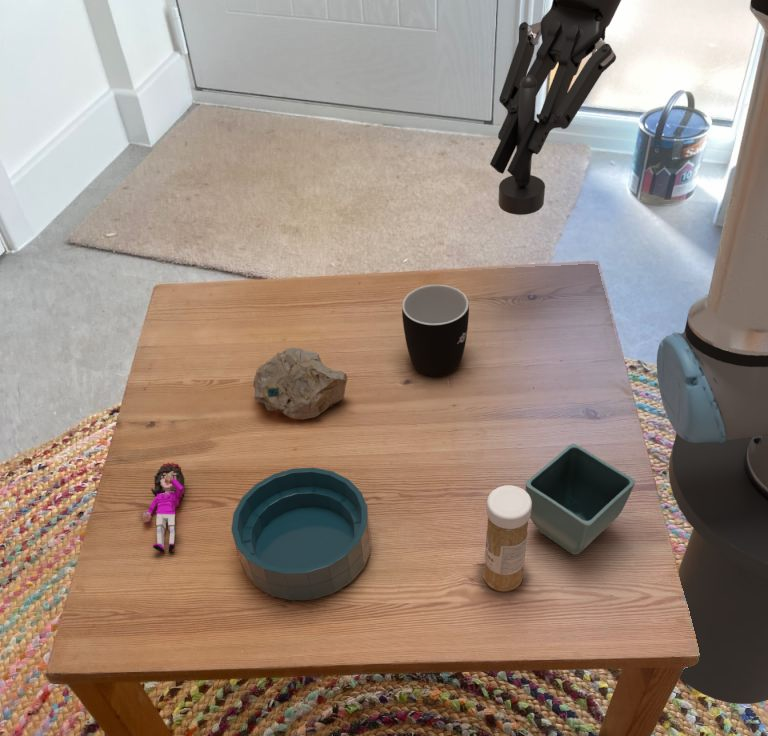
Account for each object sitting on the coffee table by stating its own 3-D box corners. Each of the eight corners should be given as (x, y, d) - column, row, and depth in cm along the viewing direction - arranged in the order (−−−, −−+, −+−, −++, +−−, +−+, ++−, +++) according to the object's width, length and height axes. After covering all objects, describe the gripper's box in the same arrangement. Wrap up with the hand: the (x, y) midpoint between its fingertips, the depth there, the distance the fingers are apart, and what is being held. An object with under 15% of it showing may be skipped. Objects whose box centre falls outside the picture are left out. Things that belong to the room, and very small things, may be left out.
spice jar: (478, 564, 97) (482, 487, 87) (517, 557, 97) (525, 479, 87) (488, 596, 94) (493, 521, 84) (528, 589, 94) (538, 513, 84)
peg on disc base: (552, 207, 111) (564, 79, 99) (511, 219, 110) (518, 91, 97) (529, 186, 115) (538, 60, 102) (490, 198, 114) (494, 72, 101)
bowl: (388, 580, 96) (385, 548, 92) (258, 621, 94) (248, 590, 89) (349, 486, 106) (344, 453, 101) (230, 521, 103) (219, 489, 99)
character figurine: (191, 554, 102) (193, 474, 108) (179, 532, 97) (181, 450, 104) (144, 560, 102) (149, 480, 108) (130, 539, 97) (136, 456, 104)
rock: (240, 414, 114) (253, 355, 107) (256, 387, 118) (269, 329, 111) (325, 445, 114) (343, 389, 107) (337, 417, 119) (355, 362, 112)
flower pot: (624, 531, 99) (637, 480, 92) (578, 575, 95) (588, 526, 88) (564, 492, 103) (572, 441, 96) (518, 534, 99) (523, 483, 92)
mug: (465, 385, 117) (466, 326, 109) (401, 382, 118) (397, 323, 110) (471, 330, 124) (473, 271, 116) (411, 328, 125) (408, 270, 118)
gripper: (659, 11, 100) (565, 201, 106) (553, -14, 107) (470, 165, 113) (642, -25, 94) (543, 179, 99) (532, -48, 101) (445, 143, 106)
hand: (505, 171), depth 106 cm, fingers closed on peg on disc base, 2 cm apart
